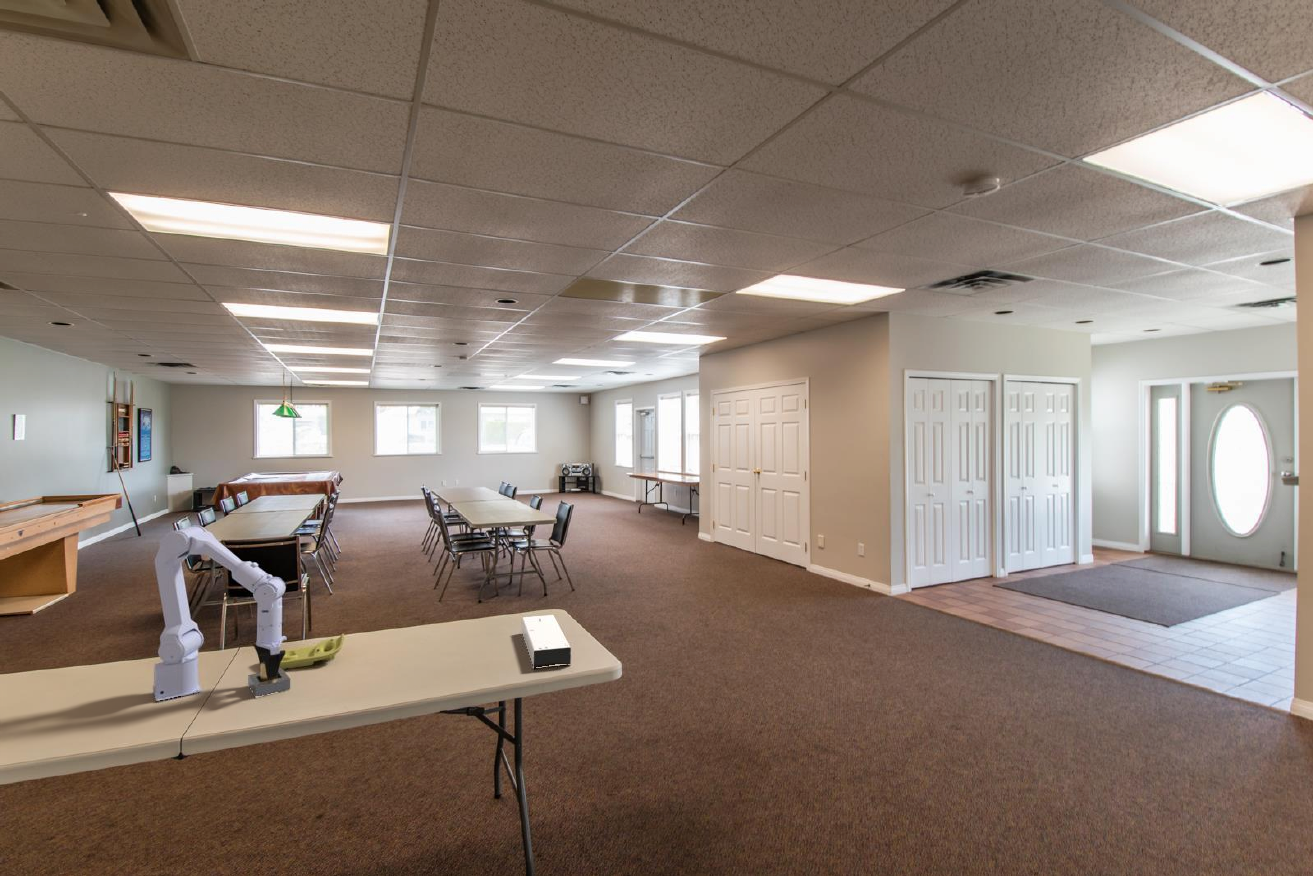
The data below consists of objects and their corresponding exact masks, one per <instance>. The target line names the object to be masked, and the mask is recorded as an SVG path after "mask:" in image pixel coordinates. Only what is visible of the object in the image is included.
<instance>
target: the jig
mask: <svg viewBox="0 0 1313 876" xmlns="http://www.w3.org/2000/svg"><path fill="white" fill-rule="evenodd" d="M248 685H249V687H250V688H251V690H252V691H253V693H254V695H255V696H262V695H267V694H271V693H275V692H279V691H283V692H286V690H287V691H290V690H291V678H290V676H288V674H287V673H286V672H285V669H282V668H279V671H278V679H274V680H269V681H265V682H260V672H258V673H252V674H249V675H247V686H248ZM249 687H248V688H249ZM250 688H249V689H250ZM289 689H290V690H289ZM251 690H250V691H251ZM252 691H251V692H252ZM253 693H252V694H253ZM279 693H280V692H279ZM275 694H276V693H275ZM254 695H253V696H254ZM271 695H272V694H271ZM255 696H254V697H255ZM267 696H268V695H267Z"/></svg>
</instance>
